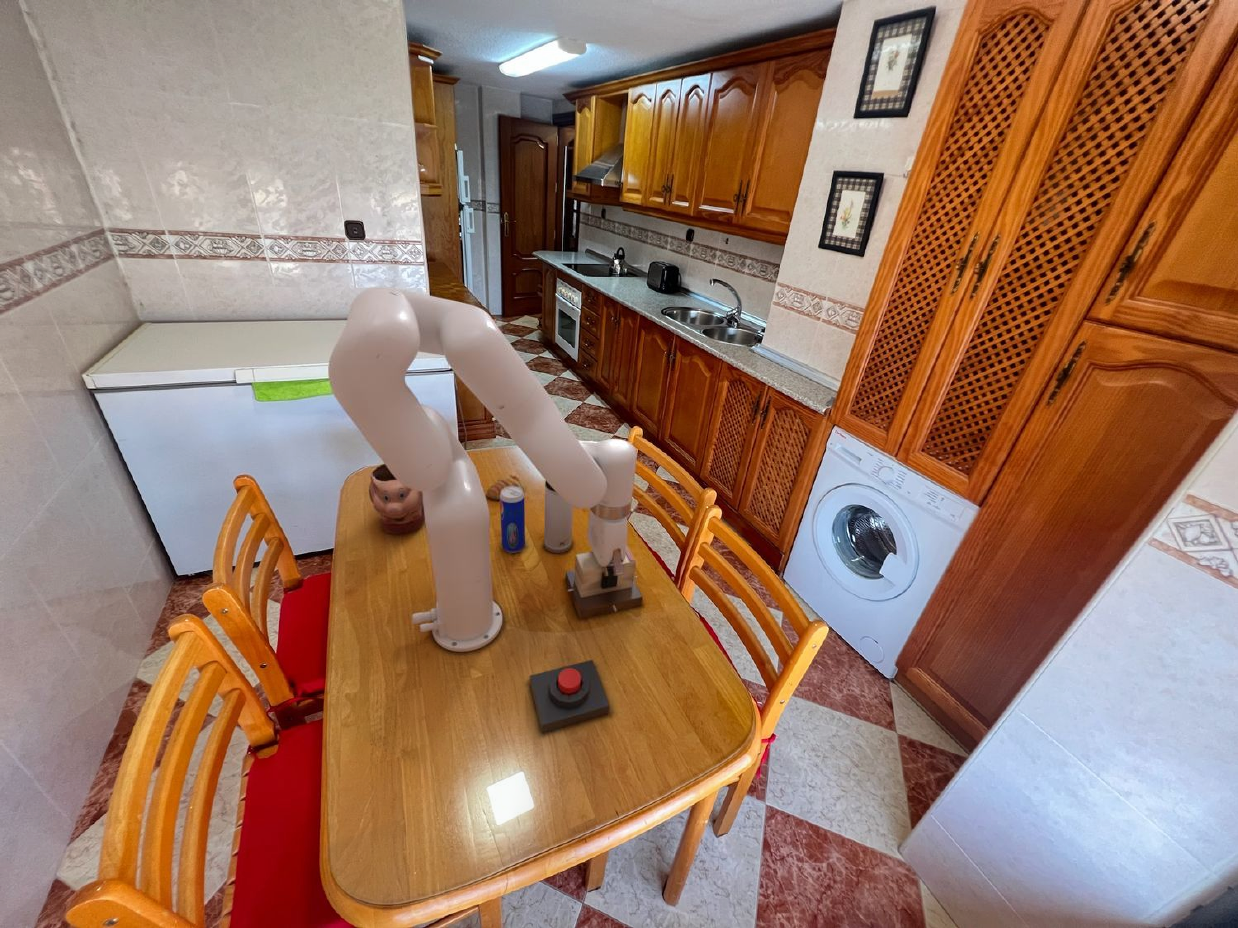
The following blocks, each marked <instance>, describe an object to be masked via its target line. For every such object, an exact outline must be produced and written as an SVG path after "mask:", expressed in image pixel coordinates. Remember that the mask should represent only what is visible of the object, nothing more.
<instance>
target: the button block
mask: <svg viewBox="0 0 1238 928" xmlns="http://www.w3.org/2000/svg"><path fill="white" fill-rule="evenodd" d="M568 668H572V669H575V670H577V671H578V672H579V673H580V675H581V685H580V689H579V690H578V691H577V692H576V693H574V694H572V695H566V694H564V693H562V692H561V691H560V690H559V688H558V677H559V674H560V673H561V672H562V671H563V670H564V669H568ZM529 686H530V690H531V694H532V699H533V702H534V706H535V711H536V716H537V719H538V723H539V727H540V732H541V734H545V733H549V732H552V731H555V730H559V729H562V728H565V727H568V726H573V725H574V724H578V723H581V722H585V721H589V720H591V719H595V718H599V717H602V716H605V715H609V713H610V708H611V707H610V702H609V700H608V697H607V695H606V692H605V689H604V686H603V684H602V680H601V677H600V675H599V673H598V670H597V667H596V664H595V662H594V660H593V659H589V660H586V661H582V662H577V663H573V664H570V665H566V666H562V667H558V668H555V669H551V670H550V669H549V670H546V671H543V672H539V673H535V674H531V675H530V676H529Z"/></svg>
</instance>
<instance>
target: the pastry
mask: <svg viewBox="0 0 1238 928" xmlns="http://www.w3.org/2000/svg"><path fill="white" fill-rule="evenodd" d="M508 486H517V487H520V488H521V489H522V490H523V491H524V490H525V487H524V483H523V482H522V481H521V479H520V477H519V476H518V475H516V474H510V475H508V476H505V477H501V478H499V479H498V480H496V481H495V482H494V483H493V484H492V485H491V486H489V487H488V489H487V493H486V496H487V497H488V498H490V499H493V500H497V501H498V500H499V501H500V493H501V491H502V489H504V488H505V487H508Z"/></svg>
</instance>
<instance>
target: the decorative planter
mask: <svg viewBox="0 0 1238 928" xmlns="http://www.w3.org/2000/svg"><path fill="white" fill-rule="evenodd" d="M368 494H369V499H370V501H371V503H372V504H373V508H374V510H375V511H376V513H378V514H380V516H381V528H382V530H384V531H385V532H387V533H391V534H406V533H410V532H413V531H416V530H418V529H420V528H421V527H422V526H423V525H424V524H425V515H424V506H423V495H422V491H416V490H413V489H410V488H408V487H406V486H405V485H403V484H402V483H400V482H399V481H398V480H397V479H396V478H395V477H394V476H393V474H392V473H391V472H390V470H389V469H388V467H387V466H386V465H385V463H384V462H383V463H382V464H380V465H376V467H374V469H372V471H371V473H370V483H369V485H368Z"/></svg>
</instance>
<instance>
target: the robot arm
mask: <svg viewBox="0 0 1238 928" xmlns="http://www.w3.org/2000/svg"><path fill="white" fill-rule="evenodd" d="M347 315H348V316H347V318H346V323H345V327H344V328H343V331H342V332H341V334H340V336H339V338H338V340H337V341H336V344H335V346H334V347H333V349H332V352H331V354H330V357H329V361H328V367H327V368H328V369H327V373H328V374H327V375H328V382H329V385H330V388H331V392H332V393H333V396H334V397H335V399H336V402H338V404H339V405H340V407H341V408H342V410H343V411H344V412H345V413H346V415H347V416H348V417H349V419H350V420H351V421H352V422H353V423H354V425H355V426H356V427H357V429H358V430H359V432H360V433H361V434H362V436H363V437H364V439H365V440H366V441H367V443H368V444H369V445H370V447H371V448H372V449H373V450H374V452H375V453H376V454H377V456H378V457H379V458H380V460H381V461H382V462H383V464H384V463H385V465H386V466H387V467H388V469H389V470H390V472H391V473H392V474H393V476H394V477H395V478H396V479H397V480H398V481H399V482H400V483H402V484H403V485H405V486H406V487H408V488H410V489H413V490H416V491H422V495H423V506H424V515H425V521H424V524H425V529H426V530H425V531H426V536H427V541H428V547H429V554H430V555H429V556H430V561H431V566H432V567H431V568H432V574H433V581H434V586H435V587H434V588H435V594H436V595H435V596H436V603H435V606H436V607H434V608H431V609H430V610H429V611H425V612H423V611H421V612H415V613H412V624H413V626H415V625H418V624H419V628H420V629H419V631H420V633H425V632H426V633H427V632H430V631H431V633H432V636H433V639H434V640H435V642H436V643H437V644H438V645H439V646H440V647H441V648H443V649H446V650H448V651H452V652H456V653H457V652H459V653H462V652H463V653H464V652H471V651H475V650H478V649H481V648H483V647H485V646H486V645H488V644H490V643H491V642H492V641H493V640H494V639H495V638H496V637H497V636H498V635H499V633H500V631H501V629H502V626H503V613H502V610H501V607H500V606H499V605H498V604H497V603H496V602H495V601H494V598H493V596H494V595H493V582H492V566H491V551H490V550H491V549H490V529H491V515H490V509H489V504H488V500H487V497H486V494H485V491H484V488H483V485H482V483H481V479H480V476H479V472H478V470H477V467H476V465H475V464H474V463H473V460H472V459H471V457H470V455H469V454H468V452H467V451H466V450H465V448H464V446H463V444H462V443H461V442H460V440H459V439H458V437H457V435H456V433H454V430H453V429H452V427H451V426H450V424H449V423H448V421H447V420H446V419H445V417H444V416H443V415H442V414H441V413H440V412H439V411H438V410H436V408H433V407H431V406H430V405H426V404H423V403H420V402H419V399H418V398H417V396H416V395H415V393H414V392H413V391H412V389H411V388H410V387H409V386H408V385H407V382H406V374H407V371H408V370H409V368H410V366H411V365H412V364H413V362H414V360H415V359H416V357H417V355H418V353H425V354H432V355H439V356H444V358H445V360H446V363H447V364H448V365H449V367H450V368H451V370H452V371H453V372H454V373H455V375H456V376H457V377H458V378H459V379H460V381H461V382H462V383H463V384H464V385H465V386H466V387H467V388H468V389H469V390H470V391H471V393H472V394H473V395H474V396H475V397H476V398H477V399H478V401H480V403H481V404H482V405H483V406H484V407H485V408H486V410H487V411H488V412H489V413H490V414H491V415H492V416H493V418H494V419H495V420H496V421H497V422H498V424H500V426H501V427H502V428H503V429H504V430H505V431H506V433H507V434H508V436H509V438H511V440H512V441H513V442H514V444H515V445H516V446H517V447H518V448H519V449H520V451H521V452H522V453H523V454H524V455H525V456H526V457H527V458H528V460H529V462H531V464H532V465H533V466H534V467H535V469H536V470H537V472H538V473H540V475H541V476H542V478H543V479H544V481H545V480H546V481H547V482H548V483H549V484H550V486H551V487H552V488H553V489H554V490H555V491H556V492H557V493H558V494H559V496H560V497H561V498H562V499H563V500H564V501H565V502H566V503H567V504H569V505H570V506H572V507H573V509H579V510H588V509H589V513H588V519H587V520H588V521H587V522H588V523H587V528H586V529H587V530H586V539H587V542H588V544H589V547H590V548H591V552H593V553H594V555H595V557H596V559H597V561H598V563H599V564H600V565H601V566H602V567H604V572H603V573H602V580H601V588H602V589H607V588H612V587H616V586H617V580H618V575H623V571H622V565H621V563H623V562H624V559H625V555H626V546H628V545H627V544H628V518H629V517H630V515H631V512H632V511H631V510H632V501H633V493H634V486H635V477H636V470H637V469H636V468H637V458H638V453H637V449H636V447H635V446H634V445H633V444H632V443H631V442H629V441H627V440H624V439H622V438H621V439H620V438H608V439H604V440H602V441H592V440H583V439H582V440H581V439H577V437H576V436H575V434H574V432H573V431H572V430H571V429H570V427H569V425H568V423H567V422H566V421H565V418H564V417H563V415H562V413H561V411H560V410H559V407H558V406H557V405H556V403H555V402H554V400H553V399H552V397H551V396H550V394H549V392H547V390H546V388H545V387H544V386H543V385H542V384H541V382H540V381H539V380H538V379H537V377H536V376H535V375H534V373H533V372H532V370H531V369H530V368H529V367H528V365H527V364H526V363H525V361H524V360H523V359H522V357H521V356H520V355H519V354H518V352H517V351H516V349H515V347H513V345H512V344H511V343H510V342H509V340H508V339H507V338H506V336H505V334H504V333H503V332H502V331H501V329H500V327H498V325H497V323H496V322H495V321H494V319H493V318H492V317H491V315H490V314H489V313H488V312H486V311H485V310H484V309H482V308H480V307H478V306H476V305H473V304H469V303H467V302H466V303H465V302H460V301H456V300H452V299H448V298H442V297H438V296H433V295H429V294H424V293H420V292H416V291H411V290H406V289H402V288H397V287H391V286H373V287H370V288H366V289H365V290H362V291H361V292H359V293H358V294H357V295H356V296H355V298H353V300H352V302H351V304H350V307H349V310H348V314H347ZM609 564H613V566H614V568H613V569H608V565H609ZM426 622H428V623H426Z"/></svg>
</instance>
